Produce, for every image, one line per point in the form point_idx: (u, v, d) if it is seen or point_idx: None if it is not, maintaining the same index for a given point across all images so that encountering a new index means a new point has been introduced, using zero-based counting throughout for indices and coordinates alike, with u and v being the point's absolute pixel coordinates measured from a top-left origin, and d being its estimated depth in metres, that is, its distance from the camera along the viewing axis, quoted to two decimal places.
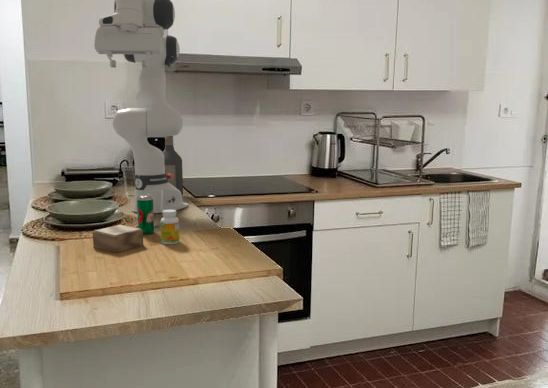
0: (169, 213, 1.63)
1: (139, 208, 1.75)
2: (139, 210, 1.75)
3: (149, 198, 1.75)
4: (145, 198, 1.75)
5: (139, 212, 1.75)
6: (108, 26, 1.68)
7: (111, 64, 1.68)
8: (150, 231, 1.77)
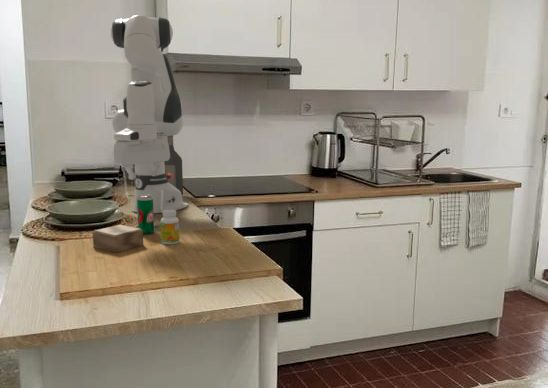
0: (169, 213, 1.63)
1: (139, 208, 1.75)
2: (139, 210, 1.75)
3: (149, 198, 1.75)
4: (145, 198, 1.75)
5: (139, 212, 1.75)
6: (133, 141, 1.67)
7: (133, 178, 1.71)
8: (150, 231, 1.77)
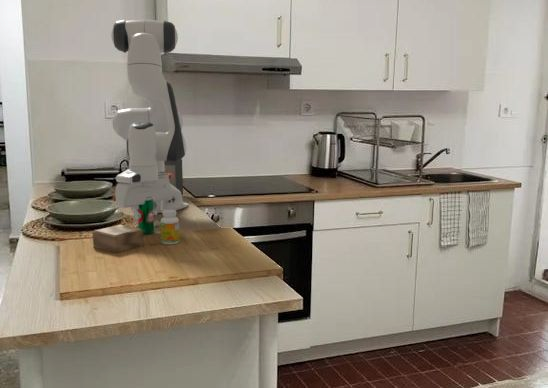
0: (169, 213, 1.63)
1: (139, 208, 1.75)
2: (139, 210, 1.75)
3: (149, 198, 1.75)
4: None
5: (139, 212, 1.75)
6: (135, 183, 1.70)
7: (138, 218, 1.74)
8: (150, 231, 1.77)
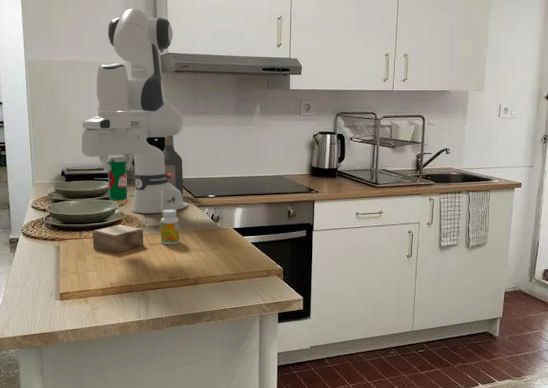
0: (169, 213, 1.63)
1: None
2: (110, 173, 1.57)
3: (121, 160, 1.57)
4: (116, 159, 1.56)
5: (110, 175, 1.57)
6: (104, 129, 1.51)
7: (108, 170, 1.56)
8: (122, 197, 1.58)
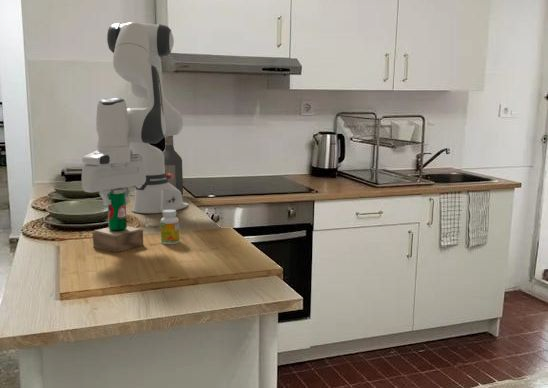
0: (169, 213, 1.63)
1: None
2: None
3: (120, 191, 1.58)
4: (116, 191, 1.57)
5: (109, 207, 1.58)
6: (103, 165, 1.52)
7: (108, 204, 1.57)
8: (122, 228, 1.59)
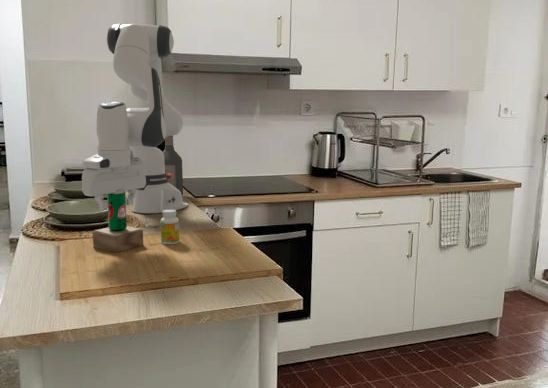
0: (169, 213, 1.63)
1: (109, 202, 1.58)
2: (109, 205, 1.58)
3: (120, 191, 1.58)
4: (116, 191, 1.57)
5: (109, 207, 1.58)
6: (104, 169, 1.52)
7: (104, 209, 1.56)
8: (122, 228, 1.59)
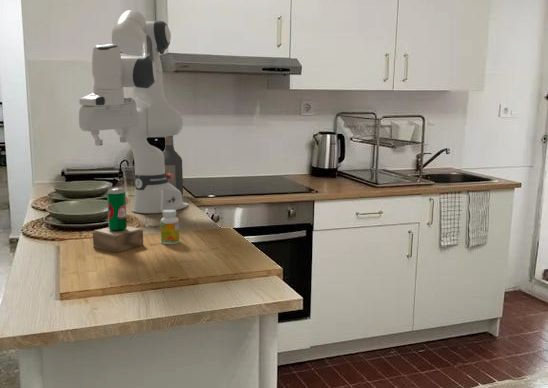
0: (169, 213, 1.63)
1: (109, 202, 1.58)
2: (109, 205, 1.58)
3: (120, 191, 1.58)
4: (116, 191, 1.57)
5: (109, 207, 1.58)
6: (99, 106, 1.64)
7: (100, 144, 1.68)
8: (122, 228, 1.59)
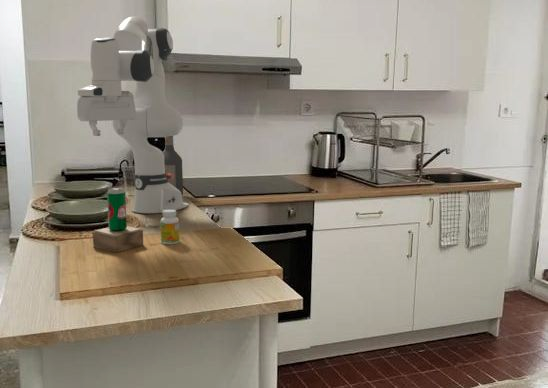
0: (169, 213, 1.63)
1: (109, 202, 1.58)
2: (109, 205, 1.58)
3: (120, 191, 1.58)
4: (116, 191, 1.57)
5: (109, 207, 1.58)
6: (97, 97, 1.68)
7: (97, 134, 1.72)
8: (122, 228, 1.59)
